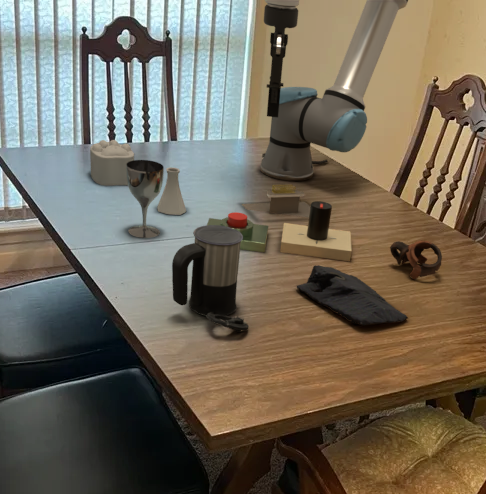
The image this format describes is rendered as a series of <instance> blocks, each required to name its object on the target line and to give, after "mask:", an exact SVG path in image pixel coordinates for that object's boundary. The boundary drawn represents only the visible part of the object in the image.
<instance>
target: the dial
mask: <svg viewBox="0 0 486 494" xmlns="http://www.w3.org/2000/svg"><path fill="white" fill-rule="evenodd" d="M332 210H333V205H332V204H331V203H329V202H327V201H320V200H319V201H318V200H316V201H312V202H311V203H310V215H309V218H308V223H307V226H308V229H307V237H309V238H311V239H313V240H325V239H327V236H328V229H330V222H331V216H332Z"/></svg>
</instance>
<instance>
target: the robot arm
mask: <svg viewBox="0 0 486 494" xmlns="http://www.w3.org/2000/svg"><path fill="white" fill-rule="evenodd" d="M264 2H265V3H266V4H265V5H264V11H263V12H264V13H263V23H264V24H265V25H266V26H268V27H274V32H270V36H269V37H270V38H269V43H270V54H269V55H270V57H271V64H270V76H269V82H268V83H266V88H268V95H267V108H266V117H270V118H271V121H270V132H269V140H268V145H267V148H266V150H265V152H264V153H262V156H261V158H262V159H261V162H260V166H259V167H260V172H261V173H262V174H263V175H265V176H267V177H270V178H272V179H276V180H281V181H286V182H287V181H289V182H304V181H308V180H310V179H312V178H313V175H314V165H323V164H327V163H328V161H329V160H328V159H324V160H313V159H312V152H311V144H313V145H316V146H320V147H323V148H325V149H328V150H329V151H332V152H335V151H336V152H339V153H348V152H350V151H352V150H354V149H355V148H356V147H357V146H358V145H359V144H360V142H361V141H362V139H363V137H364V136H365V132H366V130H367V123H368V117H367V113H366V111H365V109H366V104H365V101H364V97H365V94H366V92H367V89H368V87H369V84H370V82H371V80H372V78H373V77H372V76H373V74H374V73H375V72H374V71H375V69H376V67H377V64H378V62H379V59H380V56H381V54H382V51H383V49H384V47H385V45H386V42H387V39H388V36H389V34H390V31H391V29H392V27H393V25H394V22H395V19H396V17H397V14H398V12H399V11H400V10H401V9H404V8H406V7H407V5H408V2H409V0H366V1H365V3H364V6H363V9H362V11H361V13H360V17H359V18H358V22H357V24H356V26H355V28H354V31H353V34H352V37H351V39H350V42H349V44H348V47H347V50H346V52H345V55H344V57H343V60H342V63H341V65H340V67H339V70H338V72H337V75H336V78H335V80H334V82H333V85H332V86H330V87H328V88H325V90H324V92H323V95H322V97H321V98H320V97H318V90H317V89H315V88H313V87H307V86H286V87H284V82H282V75H283V74H282V73H283V63H284V58H285V57H286V54H287V53H286V52H287V46H288V44H289V43H288V42H289V34H287V33H286V29H294V28H296V27H297V26H298V19H299V9H298V6H299V5H300V0H264Z"/></svg>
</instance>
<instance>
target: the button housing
mask: <svg viewBox="0 0 486 494" xmlns="http://www.w3.org/2000/svg"><path fill="white" fill-rule="evenodd" d="M207 225H219V226H226V227H229V228H232V229H235V230H237V231H239V232H240V233H241V234H242V236H243V239H242V241H241V244H240V251H241V250H242V251H250V252H256V253H257V252H258V253H265V251H266V245H267V239H268V235H269V225H266V224H258V223H254V222H253V221H251V220H250V219H247V226H245V227H233V226H230V225H228V216H227V217H224V218H222V219H220V218H211V217H209V218H208V221H207V224H206V226H207Z"/></svg>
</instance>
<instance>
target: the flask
mask: <svg viewBox="0 0 486 494" xmlns="http://www.w3.org/2000/svg"><path fill="white" fill-rule="evenodd" d="M165 170H166V173H167V174H166V176H167V177H166V181H165V185H164V188H163V191H162V194H161V196H160V199H159V201H158V204H157V206H156V208H157V212H159V213H162V214H166V215H174V216H175V215H176V216H177V215H178V216H181V215H183V214H185V213H186V212H187V208H186V205H185V200H184V198H183V194H182V191H181V188H180V180H179V174H180V172H181V170H180V168H177V167H172V166H171V167H166V169H165Z"/></svg>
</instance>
